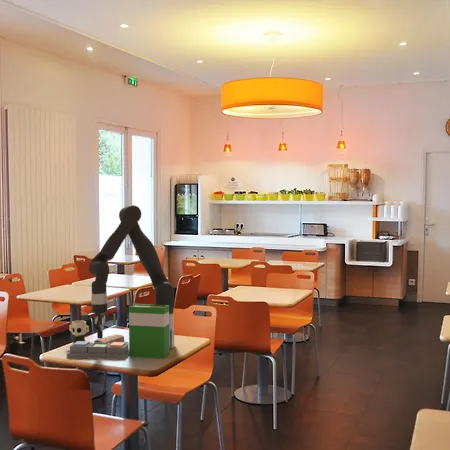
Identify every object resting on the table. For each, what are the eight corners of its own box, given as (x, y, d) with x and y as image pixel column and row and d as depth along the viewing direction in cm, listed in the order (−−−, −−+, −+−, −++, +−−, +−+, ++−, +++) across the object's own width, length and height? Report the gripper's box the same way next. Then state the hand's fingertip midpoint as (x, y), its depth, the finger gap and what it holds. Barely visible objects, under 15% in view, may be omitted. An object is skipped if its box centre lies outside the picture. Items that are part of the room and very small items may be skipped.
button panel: (131, 352, 288) (131, 342, 287) (124, 359, 276) (124, 348, 275) (75, 351, 290) (75, 341, 290) (66, 357, 278) (66, 347, 278)
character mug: (65, 348, 296) (65, 322, 296) (73, 344, 303) (72, 319, 303) (85, 349, 293) (85, 323, 293) (92, 346, 300) (92, 321, 300)
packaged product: (113, 332, 311) (127, 335, 306) (113, 341, 312) (127, 344, 306) (88, 339, 296) (103, 342, 291) (89, 349, 296) (103, 351, 291)
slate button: (89, 345, 286) (89, 341, 286) (85, 348, 280) (85, 344, 280) (77, 345, 287) (77, 341, 287) (73, 348, 281) (73, 344, 281)
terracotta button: (125, 346, 285) (125, 342, 285) (122, 349, 279) (122, 345, 279) (113, 346, 285) (113, 341, 285) (109, 349, 279) (109, 344, 279)
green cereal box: (129, 356, 281) (128, 306, 280) (135, 352, 288) (134, 303, 287) (164, 358, 277) (164, 307, 276) (169, 354, 284) (169, 305, 283)
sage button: (107, 348, 286) (107, 344, 285) (103, 351, 280) (103, 347, 279) (95, 348, 286) (95, 344, 286) (91, 351, 280) (91, 347, 280)
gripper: (102, 304, 275) (103, 341, 275) (110, 300, 288) (111, 335, 289) (87, 304, 275) (88, 341, 276) (95, 300, 288) (96, 334, 289)
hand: (100, 338), depth 282 cm, fingers closed
